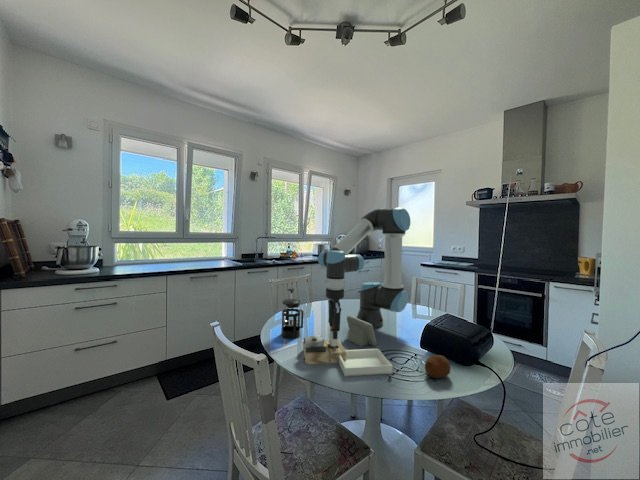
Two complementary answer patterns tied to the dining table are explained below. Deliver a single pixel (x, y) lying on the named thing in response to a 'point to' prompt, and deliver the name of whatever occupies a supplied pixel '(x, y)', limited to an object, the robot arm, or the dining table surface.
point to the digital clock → (360, 332)
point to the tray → (365, 363)
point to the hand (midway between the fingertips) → (333, 343)
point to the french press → (290, 326)
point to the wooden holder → (321, 351)
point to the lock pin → (330, 341)
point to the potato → (437, 366)
